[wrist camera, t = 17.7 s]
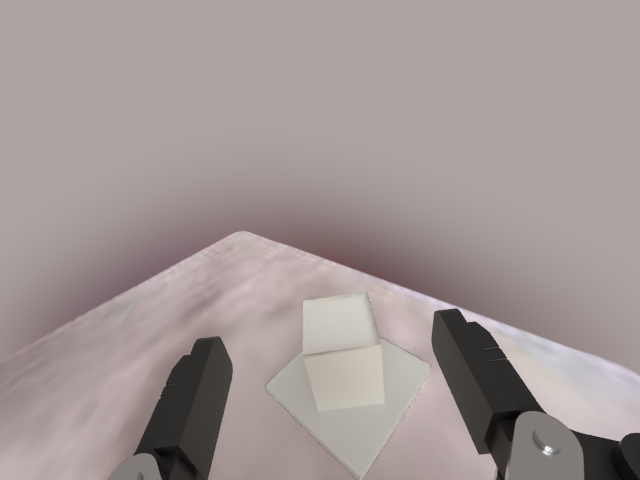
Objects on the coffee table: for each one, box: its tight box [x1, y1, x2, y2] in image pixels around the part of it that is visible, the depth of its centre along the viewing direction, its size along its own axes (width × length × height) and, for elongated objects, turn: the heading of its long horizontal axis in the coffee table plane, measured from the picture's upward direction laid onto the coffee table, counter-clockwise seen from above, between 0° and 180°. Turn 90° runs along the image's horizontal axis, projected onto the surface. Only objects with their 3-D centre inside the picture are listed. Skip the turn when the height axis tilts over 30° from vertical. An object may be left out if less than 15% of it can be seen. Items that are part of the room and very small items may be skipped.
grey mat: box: [265, 338, 431, 480], centre depth 30 cm, size 12×12×1 cm
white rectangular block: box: [303, 292, 385, 411], centre depth 27 cm, size 6×6×8 cm
